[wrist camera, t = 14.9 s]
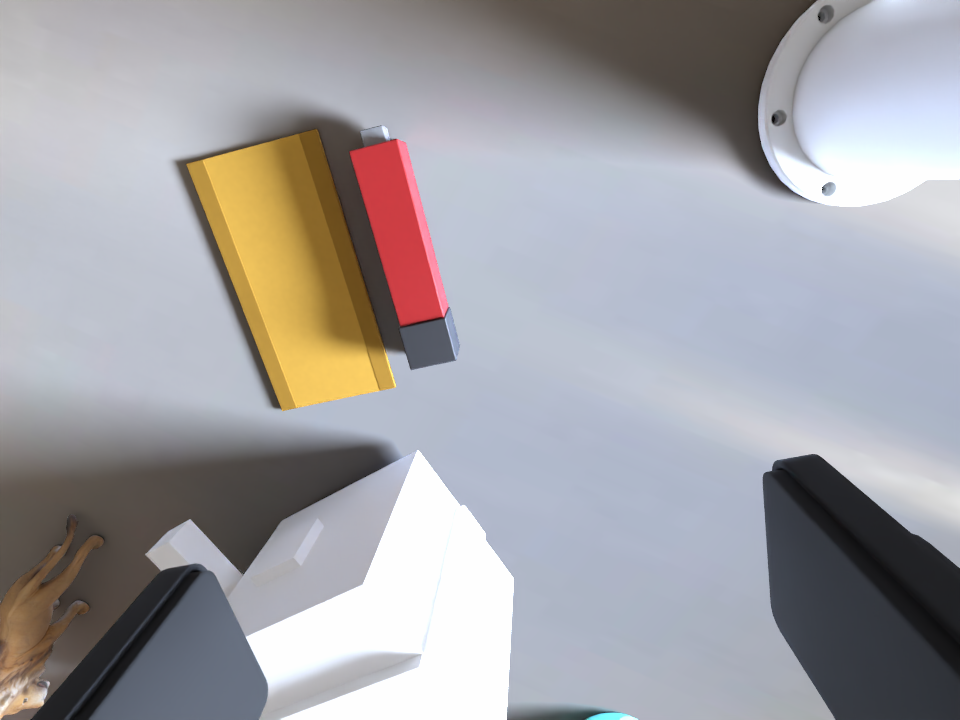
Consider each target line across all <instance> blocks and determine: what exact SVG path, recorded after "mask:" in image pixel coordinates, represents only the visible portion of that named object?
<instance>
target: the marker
mask: <svg viewBox="0 0 960 720" xmlns="http://www.w3.org/2000/svg"><path fill="white" fill-rule="evenodd" d="M360 134H361V137H362V141H363V144H364V147H363V148H359V149H355V150H351V151H349V154H350V157H351V161H352V164H353V167H354V171H355V174H356V178H357V181H358V184H359V188H360V191H361V195H362V198H363V201H364V205H365V208H366V212H367V215H368V218H369V222H370V225H371V229H372V232H373V236H374V239H375V242H376V246H377V249H378V253H379V256H380V259H381V263H382V266H383V270H384V273H385V276H386V280H387V283H388V287H389V290H390V293H391V297H392V300H393V304H394V307H395V310H396V314H397V317H398V321H399V324H400V327H399V332H400V335H401V339H402V342H403V345H404V349H405V352H406V356H407V359H408V362H409V366H410V369H411V370H414V369H418V368H423V367H428V366H432V365H437V364H442V363H447V362H451V361H456V360H457V355H458V351H459V347H460V344H459V340H458V337H457V333H456V329H455V325H454V321H453V317H452V313H451V309H450V307H448V304H447V300H446V296H445V292H444V288H443V284H442V280H441V277H440V273H439V269H438V265H437V261H436V257H435V253H434V250H433V246H432V242H431V238H430V234H429V230H428V226H427V223H426V219H425V215H424V211H423V207H422V203H421V200H420V196H419V192H418V188H417V184H416V180H415V176H414V173H413V169H412V165H411V161H410V157H409V153H408V149H407V146H406V143H405V142H403V141H400V140H398V139H393V140H390V138H389V134H388V131H387V128H386V127H384V126H382V125H381V126H377V127H373V128H369V129H366V130H362V131H360Z"/></svg>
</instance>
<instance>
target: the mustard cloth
mask: <svg viewBox="0 0 960 720" xmlns="http://www.w3.org/2000/svg"><path fill="white" fill-rule="evenodd" d="M186 165H187V168H188V170H189V173H190V175H191V178H192V181H193V183H194V186H195V188H196V191H197V193H198V196H199V199H200V201H201V204H202V206H203V209H204V211H205V214H206V217H207V219H208V222H209V224H210V227H211V229H212V232H213V234H214V237H215V240H216V242H217V245H218V247H219V250H220V252H221V255H222V258H223V260H224V263H225V265H226V268H227V270H228V273H229V276H230V278H231V281H232V283H233V286H234V288H235V291H236V294H237V296H238V299H239V301H240V304H241V306H242V309H243V312H244V314H245V317H246V319H247V322H248V324H249V327H250V329H251V332H252V335H253V337H254V340H255V342H256V345H257V347H258V350H259V353H260V355H261V358H262V360H263V363H264V365H265V368H266V371H267V373H268V376H269V378H270V381H271V383H272V386H273V389H274V391H275V394H276V396H277V399H278V401H279V404H280V407H281V409H282V411H285V410H289V409H294V408H298V407H303V406H308V405H313V404H318V403H322V402H327V401H332V400H337V399H342V398H346V397H351V396H356V395H361V394H366V393H371V392H375V391H381V390H386V389H391V388H395V387H396V384H395V380H394V377H393V374H392V371H391V367H390V364H389V361H388V357H387V354H386V351H385V348H384V344H383V341H382V338H381V335H380V331H379V328H378V325H377V322H376V318H375V315H374V312H373V309H372V305H371V302H370V299H369V296H368V292H367V289H366V286H365V283H364V279H363V276H362V273H361V269H360V266H359V263H358V260H357V256H356V253H355V250H354V247H353V243H352V240H351V237H350V234H349V230H348V227H347V224H346V221H345V217H344V214H343V211H342V208H341V204H340V201H339V198H338V195H337V191H336V188H335V185H334V181H333V178H332V175H331V172H330V168H329V165H328V162H327V159H326V155H325V152H324V149H323V146H322V142H321V139H320V136H319V133H318V130H317V129H314V130H310V131H306V132H303V133H299V134H296V135H292V136H288V137H285V138H281V139H277V140H273V141H270V142H266V143H262V144H258V145H255V146H251V147H247V148H244V149H240V150H236V151H232V152H229V153H225V154H221V155H218V156H214V157H210V158H206V159H202V160H199V161H195V162H191V163H187V164H186Z"/></svg>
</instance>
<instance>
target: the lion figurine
mask: <svg viewBox="0 0 960 720" xmlns="http://www.w3.org/2000/svg"><path fill="white" fill-rule="evenodd" d="M77 524H78V521H77V519H76V516H74V515H69V516H68V518H67V527H66V529H67V534H66V538H65V541H64V543H63V545H62V546H59V545H57V546H54V547H53V548H52V549H51V550H50V553H49V554H48V555H47V556H46V558H45V559H44V560H43V561H41V562H40V563H39V564H38V565H37V566H35V567H34V568H32V569H31V570H30V571H29V572H28V573H26V574H24V575H23V576H21V577H20V578H19V579H18V580H17V581H16V582H15V583H14V584H13V585H12V586H11V588H10V589H9V590H8V592H7V593H6V595H5V597H4V599H3V601H2V603H1V604H0V719H1V718H2V717H3V716H4V715H14V714H16V713H18V712H19V711H20V710H23V709H30V708H39V707H41V706H43V704H44V699H45V697H46V695H47V689H48V687H49V685H50V682H49V681H46V680H42V679H39V677H40V676H41V674H42V673H43V672H44V671H45V669H46V668H45V661H46V660H47V659H48V657H49V656H50V653H51V652H52V647H53V643H54V642H55V641H56V640H57V639H58V638H59V637H60V635H61V634H62V633H63V632H64V631H65V630H66V628H67V627H68V625H69V623H70V622H71V620H72V619H73V618H74V616H75V615H76V614H78V615H80V614H85V613H86V612H87V611H89V609H90V607H89V606H88V604H87V603H85V602H83V601H75V602H74V603H73V604H71V605H70V606H69V607H68V608H67V609H66V611H65V612H64V614H63V615H62V617H61V618H60V619H59V620H58V621H57V622H55V623H53V624H51V625H49V624H50V622H51V619H52V615H53V610H54V609H56V608H57V607H58V606H59V604H60V602H59V600H58V598H59V597H60V596H61V595H62V594H63V592H64V591H65V590H66V589H67V588H68V587H69V586H70V584H71V583H72V582H73V580H74V579H75V577H76V576H77V574H78V572H79V570H80V568H81V566H82V564H83V562H84V560H85V558H86V557H87V555H88V554H89V552H90V550H91V549H98V548H99V547H101V546H102V545H103V543H104V540H103V538H102V537H100V536H97V535H93V536H91V537H89V538H88V539H87V540H86V541H85V543H84V544H83V545H82V546H81V547H80V548H79V549H78V551H77V552H76V554H75V556H74V559H73V560H72V562H71V563H70V565H69V566H68V567H67V568H65V569H64V570H63V571H62V572H61V573H60V574H59V575H57V576H56V577H54V578H52V579H51V580H49V581H47V582H45V583H42V580H43V579H44V578H45V577H46V576H47V574H48V573H49V572H50V571H51V570H52V569H53V568H54V566H55V565H56V564H57V563H58V562H59V560H60V559H61V558H62V557H64V556H65V554H66V551H67V550H68V548H69V546H70V544H71V542H72V540H73V537H74V533H75V530H76V527H77ZM41 583H42V584H41Z"/></svg>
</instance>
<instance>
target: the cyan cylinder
mask: <svg viewBox="0 0 960 720" xmlns="http://www.w3.org/2000/svg"><path fill="white" fill-rule="evenodd" d="M585 720H638V719H636V718H634V717H632V716H629V715H626V714H622V713H601V714H597V715H594V716H591V717H589V718H587V719H585Z"/></svg>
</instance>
